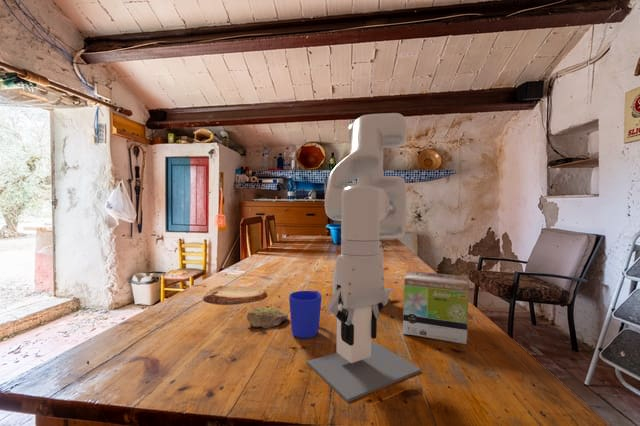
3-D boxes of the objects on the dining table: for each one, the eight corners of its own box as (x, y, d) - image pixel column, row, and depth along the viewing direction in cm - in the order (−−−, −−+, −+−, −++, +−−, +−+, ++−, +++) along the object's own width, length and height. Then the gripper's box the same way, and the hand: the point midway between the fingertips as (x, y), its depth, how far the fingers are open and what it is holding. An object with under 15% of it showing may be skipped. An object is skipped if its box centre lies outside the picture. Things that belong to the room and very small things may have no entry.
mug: (329, 324, 82) (330, 288, 82) (314, 343, 71) (315, 302, 70) (302, 320, 85) (302, 285, 84) (283, 338, 73) (283, 298, 73)
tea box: (402, 335, 75) (403, 277, 75) (405, 321, 85) (406, 269, 84) (468, 345, 70) (469, 283, 70) (463, 329, 80) (464, 274, 79)
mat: (373, 343, 71) (373, 341, 71) (420, 372, 59) (420, 369, 59) (306, 364, 61) (306, 361, 61) (347, 402, 49) (347, 399, 49)
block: (355, 346, 64) (356, 289, 64) (371, 356, 60) (371, 295, 60) (336, 352, 62) (337, 292, 61) (351, 363, 57) (352, 299, 57)
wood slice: (271, 296, 108) (271, 286, 108) (230, 310, 93) (230, 298, 93) (238, 288, 118) (238, 278, 118) (197, 299, 104) (197, 289, 103)
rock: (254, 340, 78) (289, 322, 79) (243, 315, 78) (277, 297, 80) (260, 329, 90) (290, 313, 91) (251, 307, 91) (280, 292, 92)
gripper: (379, 243, 67) (378, 324, 67) (313, 248, 58) (312, 341, 58) (404, 247, 60) (403, 337, 61) (335, 254, 51) (334, 358, 52)
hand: (359, 338), depth 59 cm, fingers closed on block, 5 cm apart
